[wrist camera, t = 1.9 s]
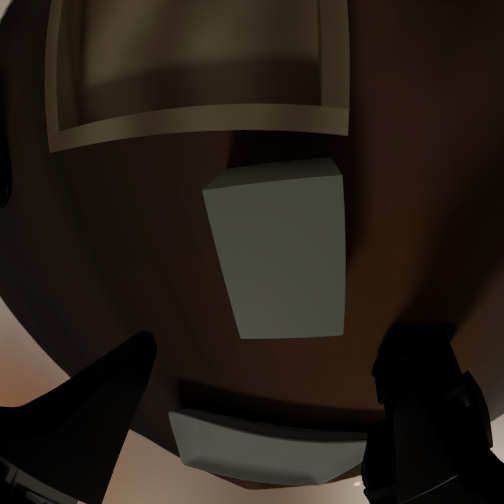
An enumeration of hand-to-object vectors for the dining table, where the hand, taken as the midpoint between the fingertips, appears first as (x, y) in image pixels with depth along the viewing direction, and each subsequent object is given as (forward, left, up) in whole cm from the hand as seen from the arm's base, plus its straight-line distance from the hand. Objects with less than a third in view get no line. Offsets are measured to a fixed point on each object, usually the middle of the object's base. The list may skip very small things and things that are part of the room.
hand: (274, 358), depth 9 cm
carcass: (+6, -13, -9) cm, 17 cm away
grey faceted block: (0, 0, -10) cm, 10 cm away
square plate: (0, +36, -10) cm, 37 cm away
